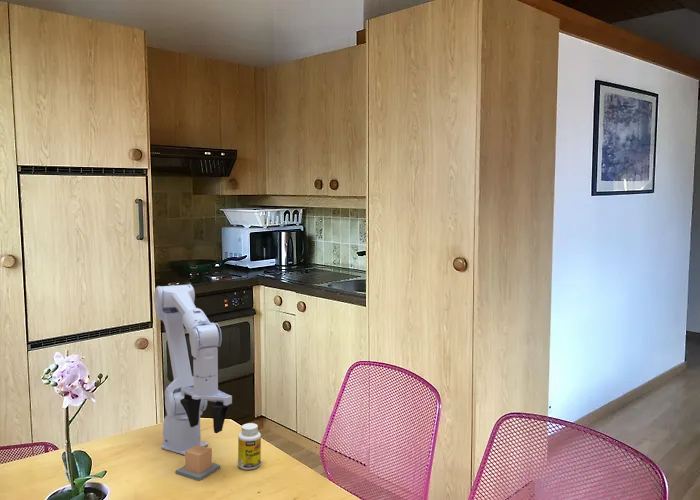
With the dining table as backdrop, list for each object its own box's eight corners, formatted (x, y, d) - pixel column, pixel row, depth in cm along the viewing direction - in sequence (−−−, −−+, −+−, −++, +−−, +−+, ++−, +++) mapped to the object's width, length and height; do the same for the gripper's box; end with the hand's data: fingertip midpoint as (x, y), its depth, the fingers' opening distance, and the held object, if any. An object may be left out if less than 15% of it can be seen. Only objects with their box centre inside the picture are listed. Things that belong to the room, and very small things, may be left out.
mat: (175, 473, 139) (175, 470, 139) (197, 461, 145) (197, 458, 145) (199, 481, 135) (199, 477, 135) (220, 468, 142) (220, 465, 142)
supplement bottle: (243, 472, 140) (243, 432, 139) (234, 463, 144) (234, 424, 144) (264, 467, 143) (264, 427, 142) (255, 458, 148) (255, 420, 147)
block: (184, 469, 139) (184, 451, 139) (197, 462, 143) (197, 444, 143) (199, 473, 137) (199, 455, 137) (211, 466, 141) (211, 448, 141)
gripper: (171, 373, 139) (171, 428, 140) (217, 382, 132) (218, 440, 133) (192, 366, 145) (192, 419, 146) (237, 375, 138) (237, 430, 139)
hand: (206, 428), depth 140 cm, fingers open, 7 cm apart
